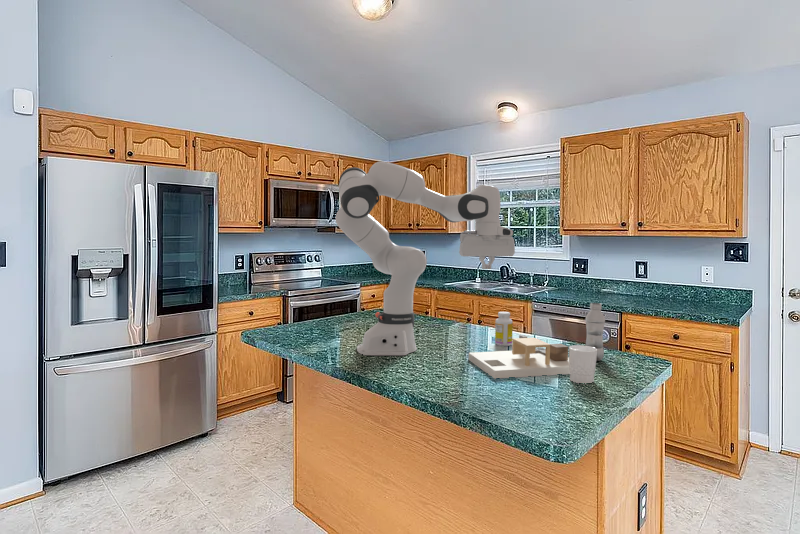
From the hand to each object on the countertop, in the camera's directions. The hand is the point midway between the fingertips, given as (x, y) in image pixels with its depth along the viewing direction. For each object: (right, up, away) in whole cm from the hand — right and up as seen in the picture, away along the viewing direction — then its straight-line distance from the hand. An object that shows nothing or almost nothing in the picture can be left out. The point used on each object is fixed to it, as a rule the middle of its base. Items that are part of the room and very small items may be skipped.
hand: (486, 269), depth 173 cm
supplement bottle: (+10, -30, +17) cm, 36 cm away
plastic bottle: (+36, -32, -6) cm, 49 cm away
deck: (+10, -32, -14) cm, 36 cm away
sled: (+17, -29, -10) cm, 35 cm away
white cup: (+23, -34, -29) cm, 50 cm away
